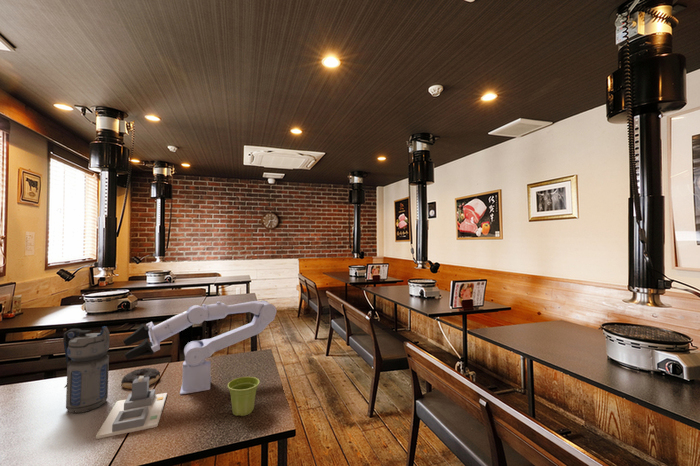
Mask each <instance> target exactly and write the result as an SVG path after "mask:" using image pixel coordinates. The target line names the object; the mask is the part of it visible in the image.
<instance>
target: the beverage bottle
mask: <svg viewBox="0 0 700 466" xmlns="http://www.w3.org/2000/svg"><path fill="white" fill-rule="evenodd" d="M90 332H91V333H90ZM110 333H111V332H110V331H109V328H108V326H105V325H104V326H102V327H101V330H100V331H99V332H93V333H92V330H88V329H87V330H85V329H84V330H82V329H81V328H70V329H68V330H67V331H65V332H64V333H63V336H62V337H63V338H62V339H63V342H62V343H63V345H64V347H63V348H64V353H65V354H64V355H65V361H66V366H67V367H66V370H67V371H66V384H65V386H64V387H63V388H64V389H65V388H66V395H65V397H66V398H65V399H66V400H65V409H66V410H67V411H68V412H69V413H72V414H74V413H75V414H76V413H84V412H89V411H92V410H94V409H96V408H98V407H100V406H102V405H104V404H105V403H106V402H107V399H108V397H109V395H108V394H109V363H110V355H108V354H107V353H108V351H109V350H110Z"/></svg>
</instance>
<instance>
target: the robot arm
mask: <svg viewBox="0 0 700 466" xmlns="http://www.w3.org/2000/svg"><path fill="white" fill-rule="evenodd" d="M243 313H251V314H254V315H253V318H252V320H251V322H249V323H247V324H244V325H241V326H239V327H236V328H234V329H231V330H229V331H225V332H223V333H220V334H219V335H218V334H217V335H216V336H214V337H211V338H204V339H201V340H192V341H190V342H189V341H188V342H187V344H186V345H185V346H184V348H183V354H184V360H183V362H182V373H181V374H182V381H181V382H182V383H181V387H180V391H179V395H186V394H192V393H198V392H199V393H200V392H204V391H209V390H211V382H212V376H211V374H212V371H211V368H212V367H211V366H212V365H211V364H212V361H211V360H206V359H208V358H211V356H212V355H213V354H214V353H215V352H219V351H221V350H223V349H225V348H228V347H231V346H233V345H235V344H237V343H240V342H242V341H244V340H247V339H249V338H251V337H255V336H257V335H259V334H260V333H262V332H263V331H264V330H265V329H266V328H267V327H268V325H270V323H272V322H273V321H274V320H275V318H276V315H277V307H276V306H275V305H274V304H272V303H270V302H268V301H267V300H252V301H247V302H246V301H245V302H239V303H236V304H226V303H224V302H221V301H216V303H211V304H206V303H202V306H201V305H198V304H195V305H190V306H189V307H188V309H187V310H185V311H183V312H180V313H178V314H176V315H174V316H172V317H170V318H167V319H166V320H164V321H162V322H160V323H158V324H154V323H153V321H150V322H148V323H146V324H144V323H142V324H140V326H138V328H137V329H136V330H135V331H134V332H133V333H131V334H130V335H128V337H126V338H125V339H124V340H123V341H122V342H123V343H124V345H125V346H126V347H127V346H130V345H133V344H135V343H137V342H141V341H142V342H141V343H140V344H138V345H137V346H135V347H133V348H132V349H130V350H128V351H127V352H126V353H124V357H125V358H126V359H127V360H131V359H135V358H138V357H142V356H153V355H154V354H155V353H156V352H157V351H160V350H161V346H160V345H161V342H162V341H164V340H166V339H168V338H170V337H172V336H174V335H176V334H178V333H180V332H181V331H184V330H185V329H187V328H189V327H191V326H193V325H196V324H197V325H199V324H202V323H203V322H204V321H207V322H208V321H215V320H219V319H220V320H221V319H225V318H226V317H227V316H228V315H233V314H243ZM148 339H149V340H148Z"/></svg>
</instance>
